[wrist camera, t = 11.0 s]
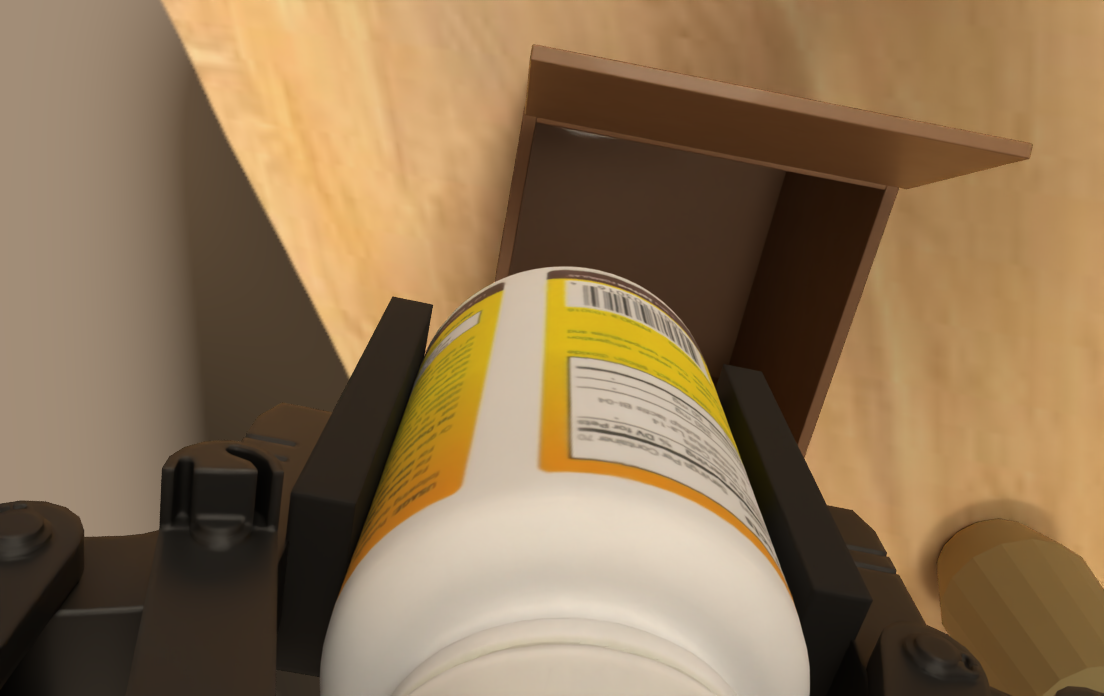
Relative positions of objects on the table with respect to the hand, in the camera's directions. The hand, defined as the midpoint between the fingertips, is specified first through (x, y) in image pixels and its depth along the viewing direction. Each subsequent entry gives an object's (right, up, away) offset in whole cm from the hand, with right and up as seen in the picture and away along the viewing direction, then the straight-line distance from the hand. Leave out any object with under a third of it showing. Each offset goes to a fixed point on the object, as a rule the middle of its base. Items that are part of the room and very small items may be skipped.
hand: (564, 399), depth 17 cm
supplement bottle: (0, 0, 0) cm, 1 cm away
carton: (+4, +6, +26) cm, 27 cm away
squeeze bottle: (+25, -11, +34) cm, 44 cm away
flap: (+5, +7, +8) cm, 12 cm away
